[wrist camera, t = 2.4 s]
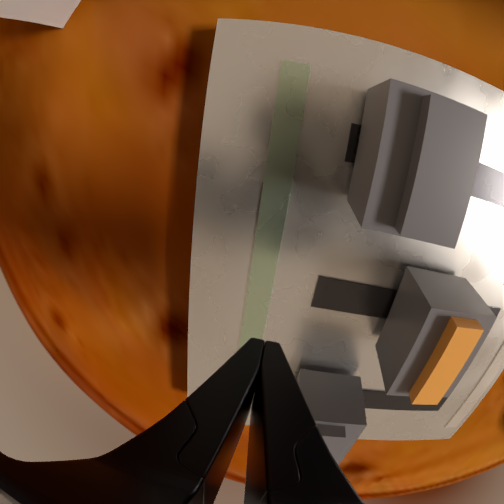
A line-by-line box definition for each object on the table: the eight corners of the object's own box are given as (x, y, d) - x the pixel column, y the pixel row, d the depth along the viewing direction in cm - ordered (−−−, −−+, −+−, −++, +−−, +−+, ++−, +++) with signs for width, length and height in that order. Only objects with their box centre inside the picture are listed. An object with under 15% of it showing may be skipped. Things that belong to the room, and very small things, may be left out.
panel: (570, 143, 9) (588, 148, 8) (445, 422, 17) (450, 439, 16) (227, 28, 10) (217, 17, 9) (194, 394, 19) (187, 412, 17)
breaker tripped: (465, 277, 11) (503, 327, 8) (430, 351, 13) (452, 407, 9) (406, 265, 11) (437, 318, 8) (375, 345, 13) (388, 406, 10)
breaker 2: (445, 113, 9) (498, 115, 6) (421, 217, 10) (462, 257, 7) (367, 89, 9) (397, 75, 6) (346, 200, 11) (365, 235, 7)
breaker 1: (360, 376, 14) (368, 436, 11) (335, 423, 15) (336, 477, 12) (300, 368, 14) (296, 429, 11) (283, 417, 16) (276, 471, 12)
